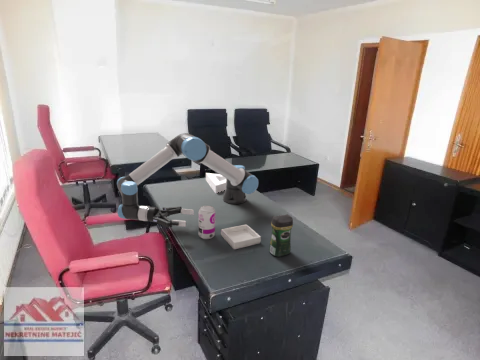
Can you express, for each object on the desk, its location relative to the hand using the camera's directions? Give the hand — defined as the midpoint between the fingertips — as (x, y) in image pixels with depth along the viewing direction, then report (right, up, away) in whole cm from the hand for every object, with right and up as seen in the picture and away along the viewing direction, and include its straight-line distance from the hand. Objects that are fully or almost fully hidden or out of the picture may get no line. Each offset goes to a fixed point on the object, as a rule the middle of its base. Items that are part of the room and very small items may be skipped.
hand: (189, 217), depth 155 cm
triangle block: (+11, +13, +71) cm, 73 cm away
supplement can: (+8, -9, +1) cm, 13 cm away
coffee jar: (+43, -15, -11) cm, 47 cm away
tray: (+25, -11, -1) cm, 27 cm away
